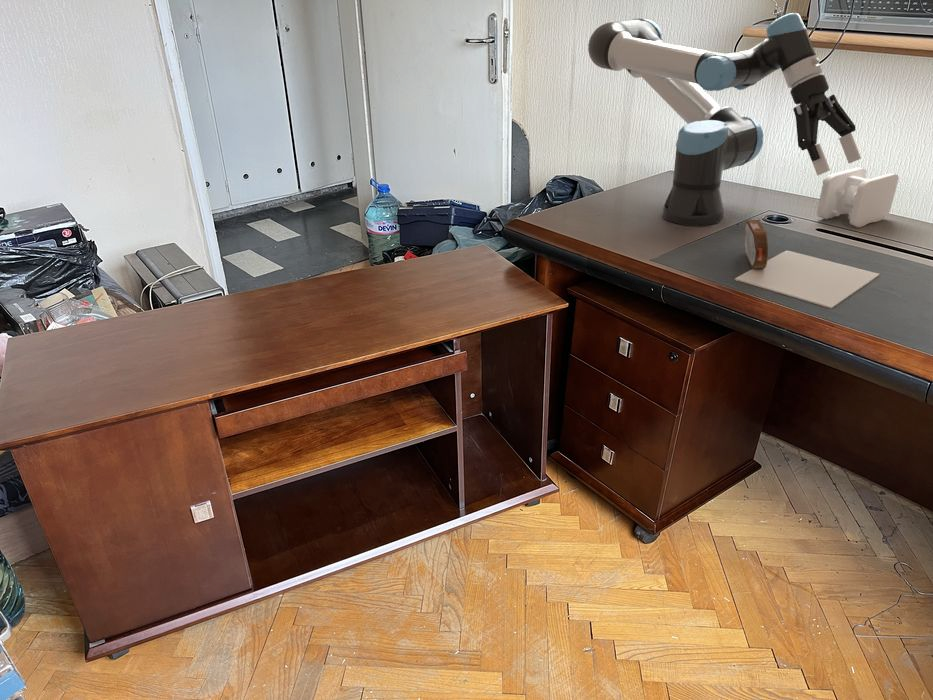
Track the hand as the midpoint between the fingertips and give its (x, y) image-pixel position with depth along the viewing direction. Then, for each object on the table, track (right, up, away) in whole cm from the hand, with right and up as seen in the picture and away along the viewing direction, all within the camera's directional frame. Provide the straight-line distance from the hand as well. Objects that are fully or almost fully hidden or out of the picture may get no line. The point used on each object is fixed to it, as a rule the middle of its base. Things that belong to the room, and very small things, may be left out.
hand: (839, 167), depth 158 cm
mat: (-15, -27, -15) cm, 35 cm away
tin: (-23, -23, -7) cm, 34 cm away
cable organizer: (+10, -10, +14) cm, 20 cm away
